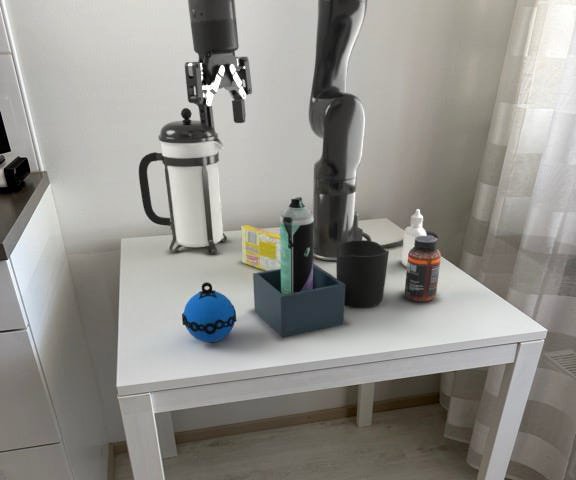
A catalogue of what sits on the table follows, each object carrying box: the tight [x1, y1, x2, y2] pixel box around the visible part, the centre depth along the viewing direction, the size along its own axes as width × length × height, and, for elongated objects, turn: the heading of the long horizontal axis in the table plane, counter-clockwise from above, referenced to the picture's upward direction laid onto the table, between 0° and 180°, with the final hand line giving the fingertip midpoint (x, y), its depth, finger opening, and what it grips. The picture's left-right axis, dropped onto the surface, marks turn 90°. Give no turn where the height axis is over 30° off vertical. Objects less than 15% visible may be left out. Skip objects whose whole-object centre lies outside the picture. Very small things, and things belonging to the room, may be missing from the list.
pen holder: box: [335, 239, 390, 309], centre depth 104 cm, size 9×9×10 cm
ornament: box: [181, 281, 237, 344], centre depth 90 cm, size 9×9×10 cm
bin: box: [252, 262, 345, 339], centre depth 98 cm, size 12×12×7 cm
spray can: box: [279, 196, 314, 295], centre depth 94 cm, size 6×6×20 cm
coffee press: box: [138, 107, 228, 255], centre depth 127 cm, size 17×16×30 cm
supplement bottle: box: [404, 235, 442, 303], centre depth 104 cm, size 6×6×11 cm
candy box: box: [240, 224, 281, 271], centre depth 118 cm, size 16×2×8 cm, turn 45°
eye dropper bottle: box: [400, 208, 428, 268], centre depth 119 cm, size 4×6×12 cm
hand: (224, 126), depth 100 cm, fingers open, 8 cm apart
